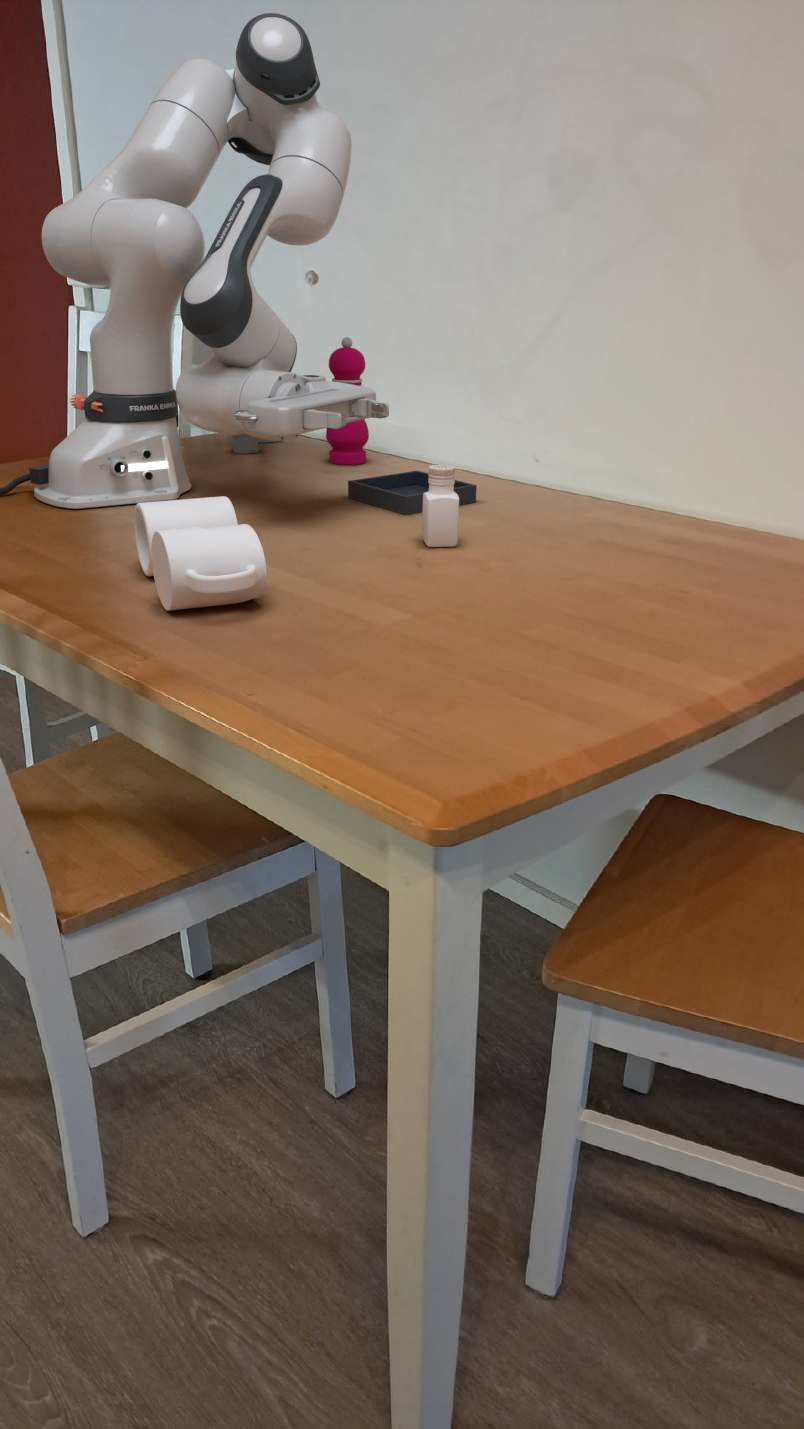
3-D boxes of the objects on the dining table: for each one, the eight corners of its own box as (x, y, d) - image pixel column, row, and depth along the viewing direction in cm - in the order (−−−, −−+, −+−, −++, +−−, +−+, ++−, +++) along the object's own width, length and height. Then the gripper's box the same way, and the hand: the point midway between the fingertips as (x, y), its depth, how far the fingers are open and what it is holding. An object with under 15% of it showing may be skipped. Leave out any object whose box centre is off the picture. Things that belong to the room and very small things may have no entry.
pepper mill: (367, 466, 177) (368, 339, 169) (324, 465, 178) (322, 338, 169) (369, 458, 184) (370, 335, 176) (328, 457, 184) (326, 335, 176)
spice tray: (405, 514, 146) (405, 496, 145) (348, 497, 155) (347, 480, 154) (475, 502, 154) (476, 485, 153) (417, 486, 163) (417, 470, 162)
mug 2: (152, 596, 111) (146, 520, 108) (239, 585, 115) (235, 512, 112) (183, 631, 101) (177, 549, 98) (276, 618, 105) (273, 539, 102)
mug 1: (242, 575, 119) (238, 504, 115) (152, 585, 115) (146, 511, 112) (213, 549, 129) (209, 482, 125) (130, 557, 125) (123, 489, 122)
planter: (227, 452, 187) (224, 391, 183) (242, 448, 191) (239, 388, 187) (249, 454, 185) (246, 393, 181) (263, 450, 189) (261, 390, 185)
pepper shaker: (452, 539, 134) (455, 463, 130) (458, 547, 131) (461, 469, 127) (421, 540, 134) (422, 463, 130) (426, 548, 130) (428, 470, 126)
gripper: (224, 390, 131) (313, 399, 124) (323, 373, 146) (408, 381, 140) (227, 442, 133) (315, 454, 127) (325, 420, 149) (408, 430, 142)
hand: (365, 415), depth 133 cm, fingers open, 8 cm apart
